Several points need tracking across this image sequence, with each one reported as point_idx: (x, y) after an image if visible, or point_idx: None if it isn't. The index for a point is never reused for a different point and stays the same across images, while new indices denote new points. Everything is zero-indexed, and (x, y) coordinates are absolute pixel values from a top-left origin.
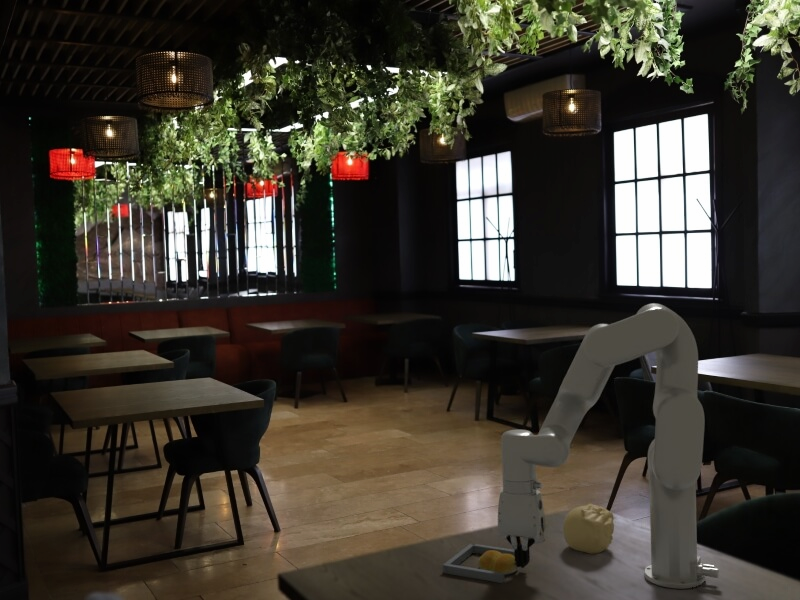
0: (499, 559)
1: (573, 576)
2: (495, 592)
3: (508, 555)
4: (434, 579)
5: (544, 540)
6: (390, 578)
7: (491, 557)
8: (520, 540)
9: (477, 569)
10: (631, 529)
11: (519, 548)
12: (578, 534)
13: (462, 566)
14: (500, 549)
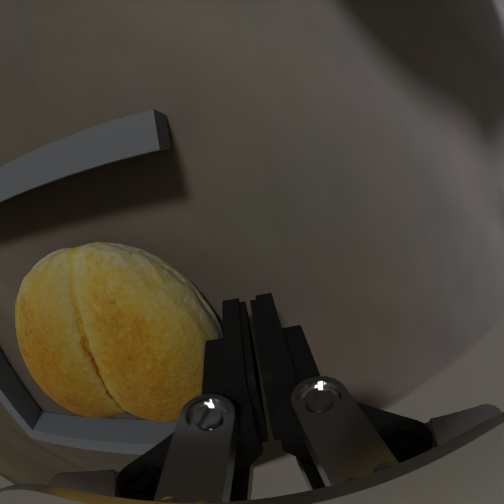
0: (151, 419)
1: (471, 219)
2: (260, 462)
3: (159, 383)
4: (67, 451)
5: (493, 410)
6: (21, 455)
7: (103, 415)
8: (233, 444)
9: (125, 446)
10: None
11: (260, 439)
12: None
13: (70, 438)
14: (1, 199)
